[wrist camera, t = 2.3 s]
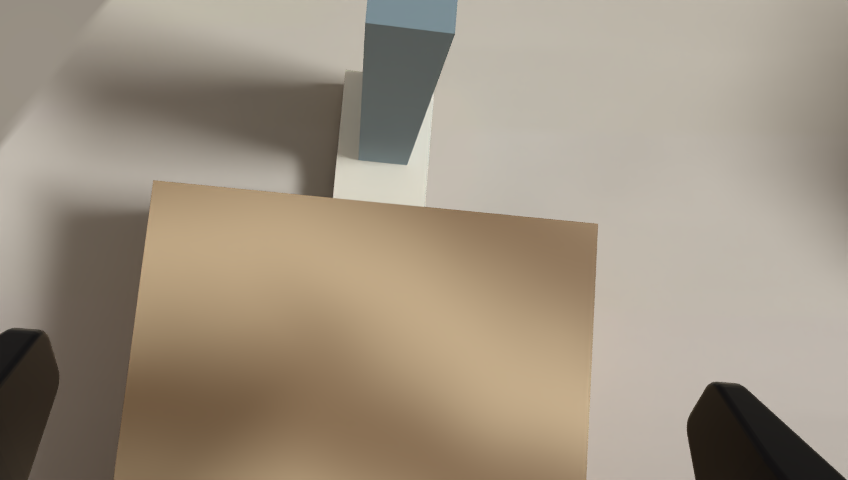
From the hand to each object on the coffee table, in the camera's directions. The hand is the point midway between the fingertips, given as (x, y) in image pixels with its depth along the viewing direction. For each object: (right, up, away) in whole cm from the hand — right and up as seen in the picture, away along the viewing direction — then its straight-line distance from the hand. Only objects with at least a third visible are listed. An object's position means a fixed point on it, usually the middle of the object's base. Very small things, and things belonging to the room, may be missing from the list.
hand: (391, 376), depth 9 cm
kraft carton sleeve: (-2, -4, +13) cm, 14 cm away
